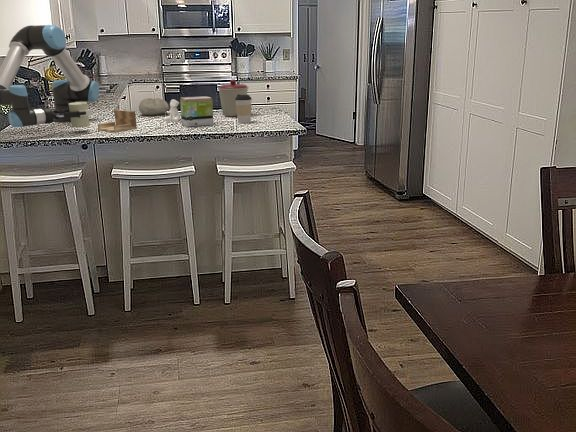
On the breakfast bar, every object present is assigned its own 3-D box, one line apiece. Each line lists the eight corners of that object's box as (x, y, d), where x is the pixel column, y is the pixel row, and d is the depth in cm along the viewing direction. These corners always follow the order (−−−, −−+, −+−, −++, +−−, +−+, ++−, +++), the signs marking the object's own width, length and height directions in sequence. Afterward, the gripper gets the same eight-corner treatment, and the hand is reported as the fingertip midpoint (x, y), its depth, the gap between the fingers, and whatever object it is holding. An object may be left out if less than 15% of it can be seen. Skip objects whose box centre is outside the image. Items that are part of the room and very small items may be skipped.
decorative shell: (153, 112, 371) (152, 96, 368) (175, 113, 363) (174, 97, 360) (133, 116, 357) (131, 99, 354) (155, 117, 348) (154, 100, 345)
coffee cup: (255, 121, 328) (254, 93, 324) (248, 123, 320) (247, 95, 315) (240, 120, 331) (238, 93, 326) (233, 123, 323) (232, 95, 318)
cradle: (97, 130, 308) (95, 112, 305) (119, 126, 319) (117, 109, 316) (115, 132, 300) (113, 114, 298) (136, 128, 311) (135, 111, 309)
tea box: (187, 127, 312) (185, 99, 308) (181, 124, 321) (179, 97, 316) (214, 125, 319) (212, 97, 314) (207, 122, 328) (206, 95, 323)
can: (84, 127, 299) (81, 103, 295) (67, 127, 300) (64, 103, 297) (93, 124, 307) (90, 101, 303) (77, 124, 309) (74, 101, 305)
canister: (213, 117, 346) (211, 80, 339) (227, 113, 362) (226, 77, 355) (241, 118, 339) (239, 80, 333) (254, 114, 355) (253, 78, 348)
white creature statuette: (162, 121, 333) (160, 100, 330) (171, 119, 341) (169, 98, 337) (176, 122, 329) (174, 100, 326) (185, 120, 337) (183, 98, 333)
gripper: (36, 121, 299) (80, 116, 313) (52, 126, 284) (97, 120, 298) (34, 106, 297) (78, 101, 311) (49, 110, 281) (95, 105, 295)
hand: (87, 111), depth 304 cm, fingers closed on can, 9 cm apart
